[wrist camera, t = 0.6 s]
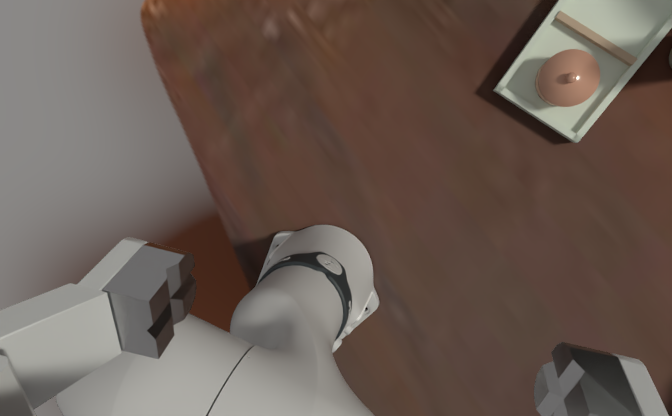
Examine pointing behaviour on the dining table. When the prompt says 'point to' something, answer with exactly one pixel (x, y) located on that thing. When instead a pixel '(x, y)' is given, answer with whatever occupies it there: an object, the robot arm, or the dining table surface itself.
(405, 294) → the dining table surface
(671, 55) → the bottle
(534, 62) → the tray
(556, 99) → the sugar pot
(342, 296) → the robot arm
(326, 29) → the dining table surface
